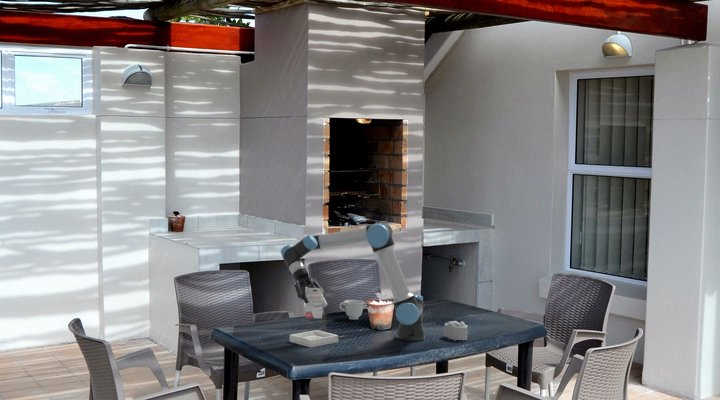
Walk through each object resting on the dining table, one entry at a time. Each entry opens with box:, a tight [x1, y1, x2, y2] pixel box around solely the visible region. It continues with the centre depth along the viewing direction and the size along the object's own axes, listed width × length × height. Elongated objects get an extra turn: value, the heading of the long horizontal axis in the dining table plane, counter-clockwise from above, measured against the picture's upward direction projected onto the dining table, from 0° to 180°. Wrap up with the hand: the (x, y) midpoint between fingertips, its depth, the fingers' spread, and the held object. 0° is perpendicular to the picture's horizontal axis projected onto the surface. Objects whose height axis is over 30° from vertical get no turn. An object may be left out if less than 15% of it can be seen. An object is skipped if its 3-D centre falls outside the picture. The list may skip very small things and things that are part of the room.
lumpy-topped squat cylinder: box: [443, 320, 469, 342], centre depth 477 cm, size 10×13×9 cm
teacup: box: [339, 299, 365, 321], centre depth 519 cm, size 12×15×10 cm
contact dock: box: [289, 329, 339, 348], centre depth 457 cm, size 16×19×4 cm
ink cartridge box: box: [304, 287, 324, 319], centre depth 456 cm, size 9×5×15 cm, turn 92°
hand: (318, 306), depth 454 cm, fingers closed on ink cartridge box, 9 cm apart
